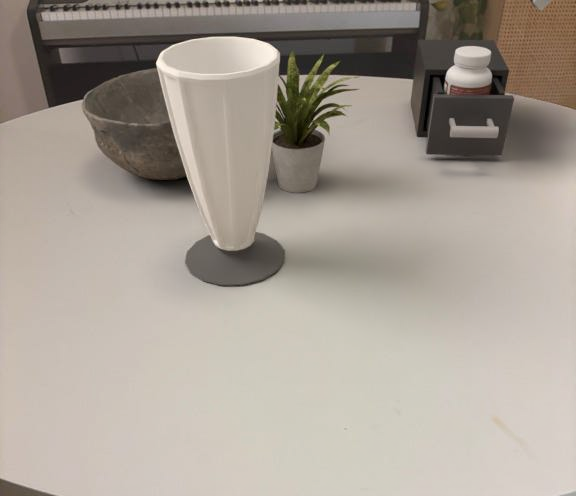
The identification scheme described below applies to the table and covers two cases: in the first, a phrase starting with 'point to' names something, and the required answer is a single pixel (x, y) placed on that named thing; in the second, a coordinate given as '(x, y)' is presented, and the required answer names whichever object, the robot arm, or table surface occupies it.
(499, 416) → the table surface
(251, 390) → the table surface
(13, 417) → the table surface
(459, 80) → the pill bottle
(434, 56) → the cabinet
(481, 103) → the drawer
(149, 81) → the bowl
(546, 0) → the robot arm
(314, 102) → the house plant
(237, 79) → the cup
